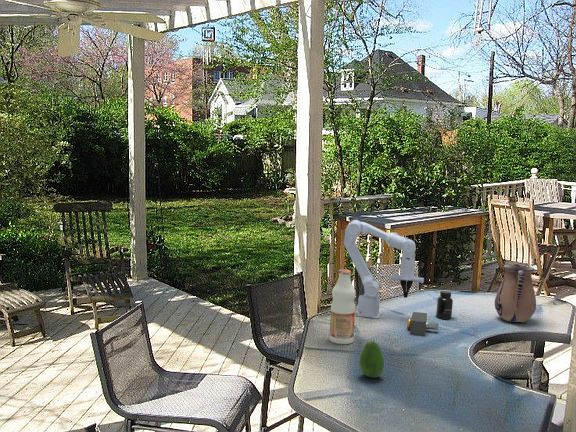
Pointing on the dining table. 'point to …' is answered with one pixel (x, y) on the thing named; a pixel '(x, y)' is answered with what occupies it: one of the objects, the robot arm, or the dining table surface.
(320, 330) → the dining table surface
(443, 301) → the supplement bottle
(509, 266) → the ceramic pitcher
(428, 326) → the lynch pin
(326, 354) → the dining table surface
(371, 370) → the avocado
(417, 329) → the hitch beam
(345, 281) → the fruit juice
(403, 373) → the dining table surface
